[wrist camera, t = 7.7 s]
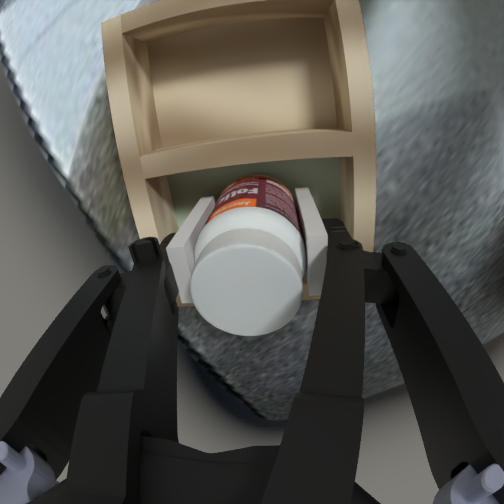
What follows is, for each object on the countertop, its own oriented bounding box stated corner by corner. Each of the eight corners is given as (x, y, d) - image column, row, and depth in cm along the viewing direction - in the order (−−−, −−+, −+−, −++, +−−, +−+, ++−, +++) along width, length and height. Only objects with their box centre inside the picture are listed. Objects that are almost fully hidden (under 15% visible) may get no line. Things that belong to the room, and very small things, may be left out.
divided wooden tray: (132, 34, 13) (101, 22, 10) (338, 4, 12) (354, -18, 9) (178, 274, 22) (162, 307, 18) (354, 261, 20) (368, 294, 17)
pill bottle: (252, 155, 16) (237, 202, 9) (312, 210, 17) (342, 293, 10) (201, 213, 18) (154, 295, 10) (258, 260, 19) (251, 360, 12)
